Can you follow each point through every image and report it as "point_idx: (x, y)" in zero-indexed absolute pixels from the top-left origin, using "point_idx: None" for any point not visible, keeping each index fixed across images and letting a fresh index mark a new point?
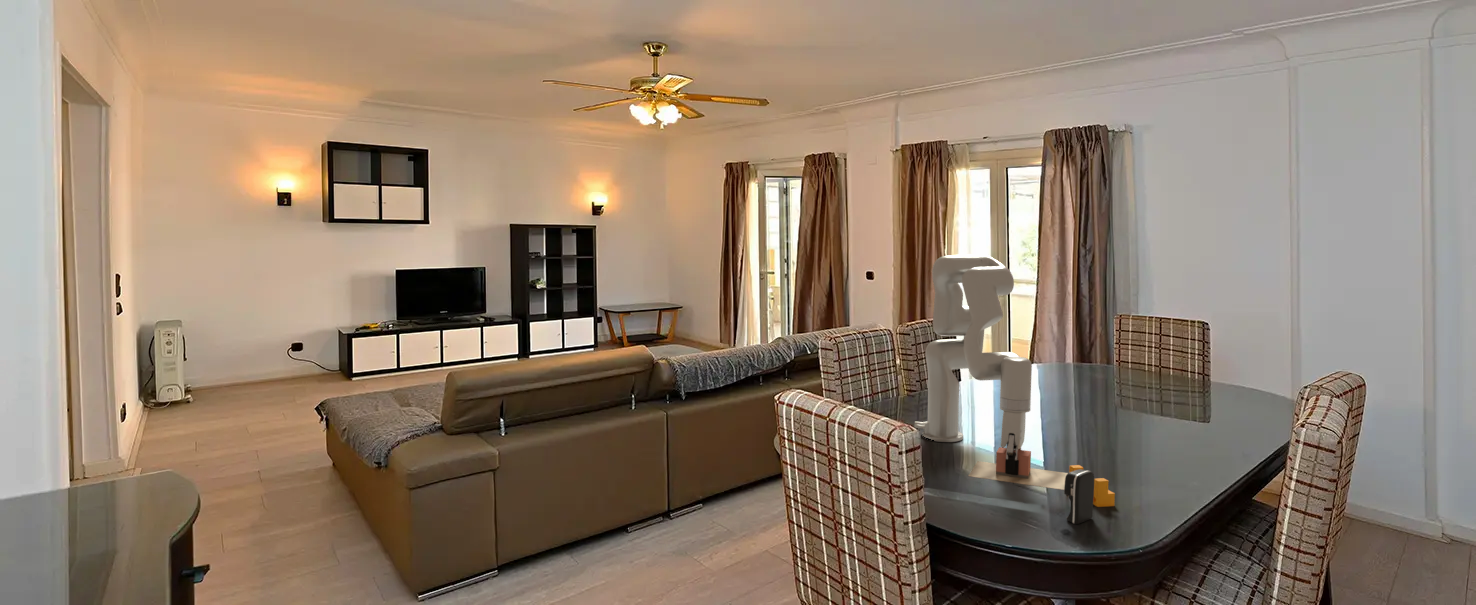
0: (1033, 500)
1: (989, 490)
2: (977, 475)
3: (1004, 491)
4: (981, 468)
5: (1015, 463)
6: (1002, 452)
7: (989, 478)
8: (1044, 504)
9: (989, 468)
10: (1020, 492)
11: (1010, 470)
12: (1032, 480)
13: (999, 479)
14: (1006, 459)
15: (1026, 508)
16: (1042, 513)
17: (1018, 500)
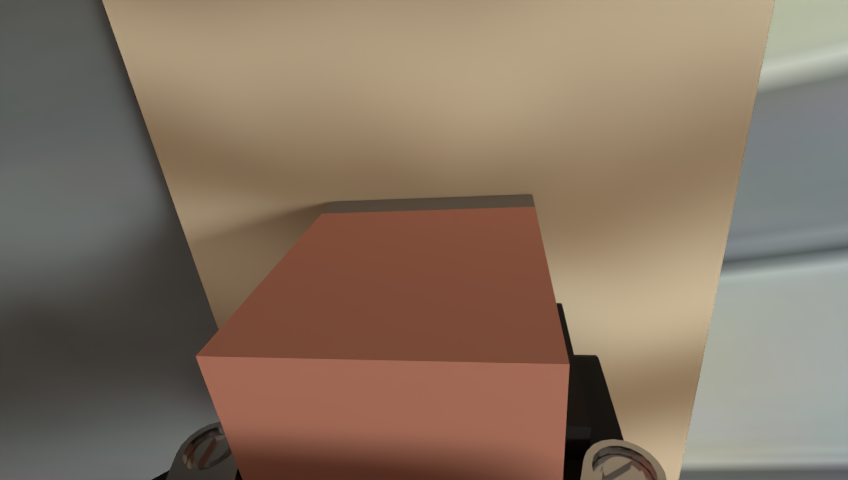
0: (137, 431)
1: (82, 189)
2: (171, 36)
3: (147, 284)
4: (451, 1)
5: None
6: (252, 433)
7: (176, 173)
8: (127, 471)
9: (499, 95)
10: None
11: None
12: None
13: (216, 254)
14: (210, 427)
15: (4, 410)
16: (13, 466)
17: (72, 370)
